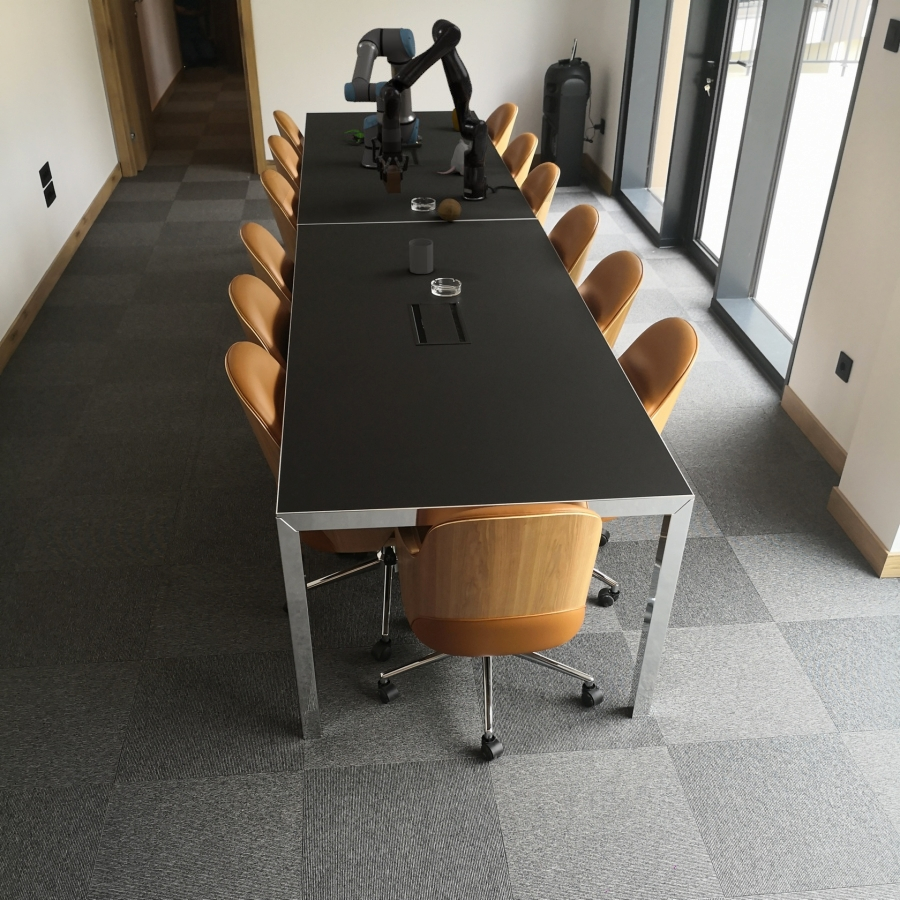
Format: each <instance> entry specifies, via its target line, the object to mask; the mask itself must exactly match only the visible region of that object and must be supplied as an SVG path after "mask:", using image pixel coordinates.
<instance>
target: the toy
mask: <svg viewBox="0 0 900 900" xmlns="http://www.w3.org/2000/svg"><path fill="white" fill-rule="evenodd" d="M458 142H459V143H457V145H456V146H455V149H454V152H453V155H452V159H451V160H450V169H448V170H446V171H443V172H441V171H437V174H441V175H448V174H450V173H453V174H455V173H456V172H457V173H460V175H461V176H464V151H465V150H467V149H471V148H472V141H469V144H466V143H465V142H464V139H463V138H460V139H459V141H458Z"/></svg>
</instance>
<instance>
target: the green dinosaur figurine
mask: <svg viewBox="0 0 900 900" xmlns="http://www.w3.org/2000/svg"><path fill="white" fill-rule="evenodd" d="M351 132H352V134H351V136H352V140H353V141H355V142H351V141H347V140H344V139H343V142H345V143H346V144H348V145H352V146H359V145H360V144H361V143H365V141H364V132H362V131H361V130H360V129H349V130H346V131H345V132H344V134H347V133H351ZM353 132H356V133H354V134H353Z"/></svg>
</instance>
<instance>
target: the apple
mask: <svg viewBox="0 0 900 900" xmlns="http://www.w3.org/2000/svg"><path fill="white" fill-rule="evenodd" d="M470 113H471V114H472V111H471V110H470ZM451 121H452V125H453V128H454V129H455V131H457V132H460V130H459V125H458V120H457V114H456V110H455V107H454V108H452V111H451Z"/></svg>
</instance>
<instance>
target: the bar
mask: <svg viewBox="0 0 900 900" xmlns="http://www.w3.org/2000/svg"><path fill="white" fill-rule="evenodd" d="M380 163H381V164H382V169H383V168H384V164H385V161H384V160H383V158H382V159H381V162H380ZM386 174H387V182H386V183H385V181H384V180H383V173H382V180H381V181H382V183H383V186H384V188H385V190H386V193H387V194H389V195H391V194H401V193H402V187H401V185H402V180H401V181H400V171H399V169H398V167H397V165H391V166H389V167H388V169H387V171H386Z"/></svg>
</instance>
